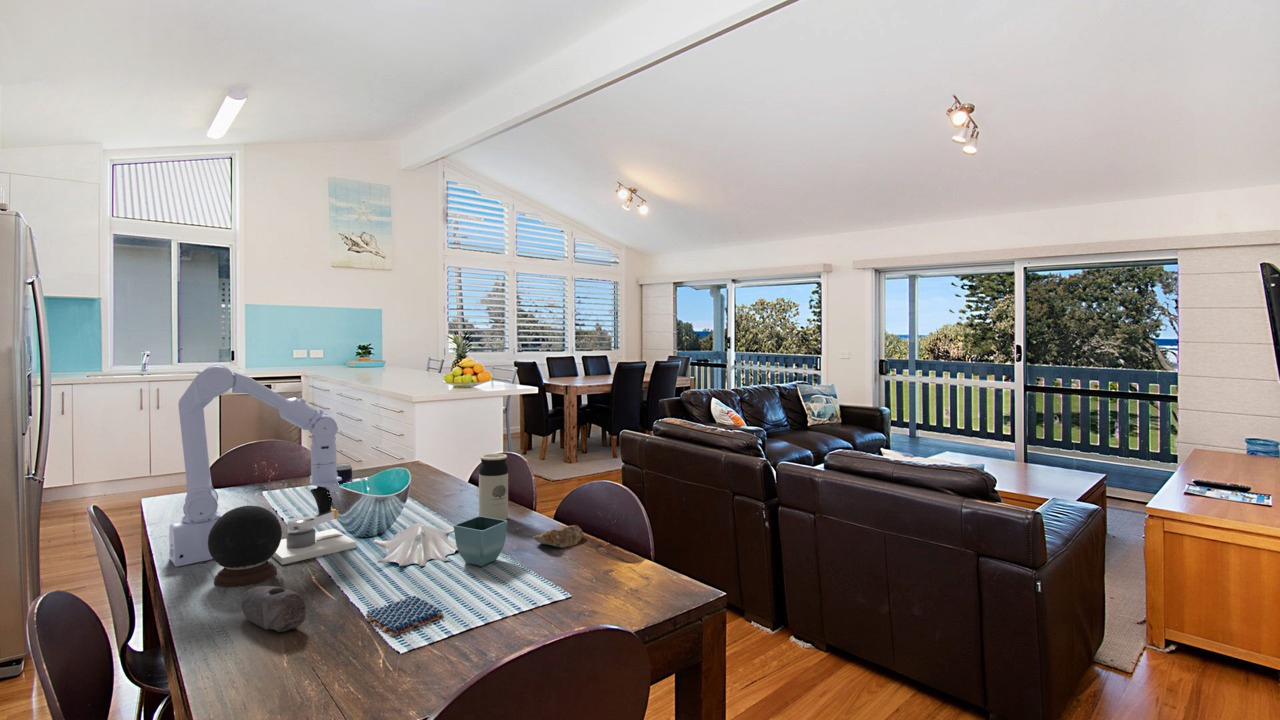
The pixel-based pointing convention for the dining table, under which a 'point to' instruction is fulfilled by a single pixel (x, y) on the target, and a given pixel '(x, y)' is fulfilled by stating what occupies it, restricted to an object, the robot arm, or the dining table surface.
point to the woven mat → (403, 615)
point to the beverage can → (344, 472)
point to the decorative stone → (561, 537)
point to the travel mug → (493, 486)
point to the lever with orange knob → (310, 522)
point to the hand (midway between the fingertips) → (324, 515)
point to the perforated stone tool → (274, 608)
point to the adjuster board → (311, 545)
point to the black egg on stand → (244, 546)
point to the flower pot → (480, 539)
